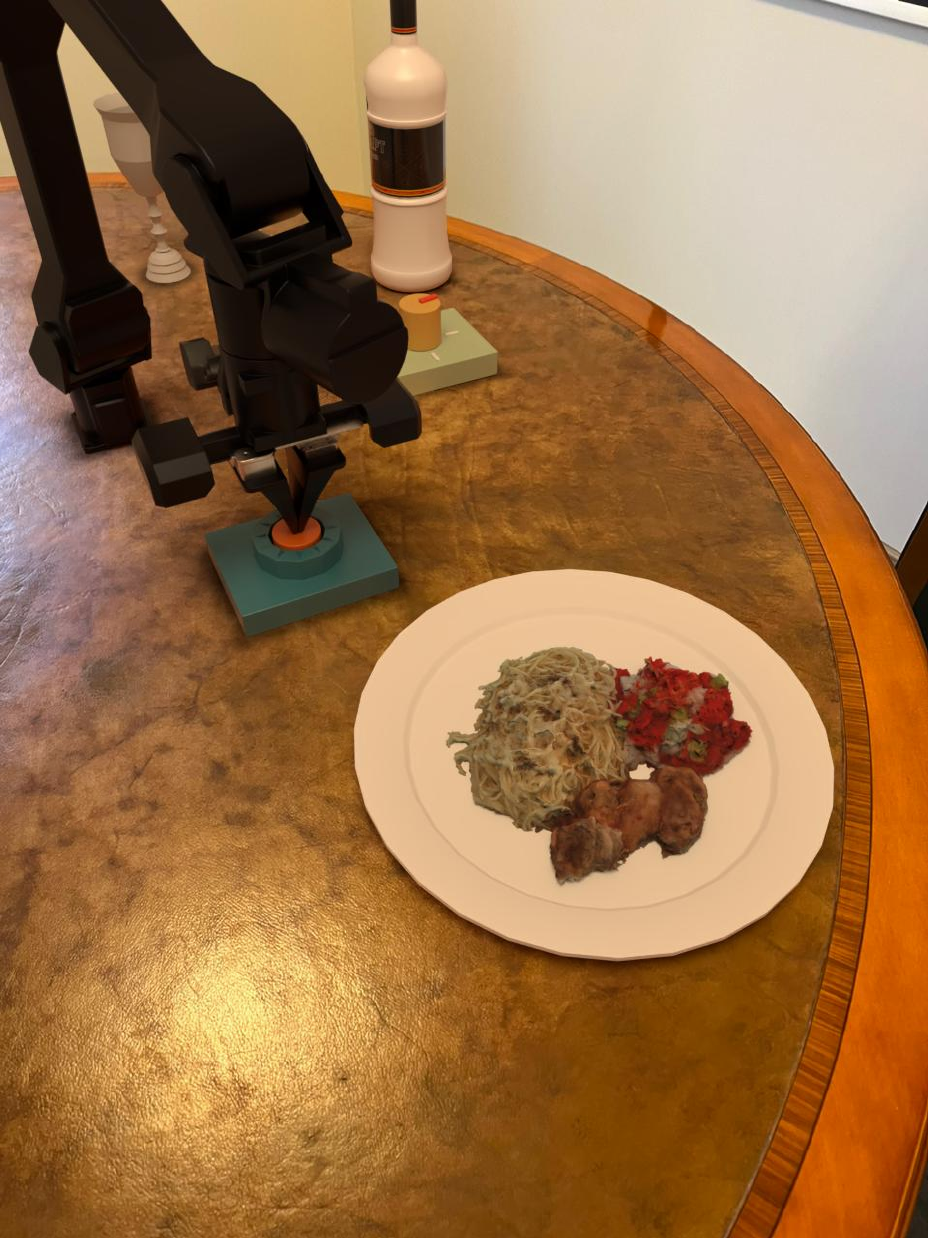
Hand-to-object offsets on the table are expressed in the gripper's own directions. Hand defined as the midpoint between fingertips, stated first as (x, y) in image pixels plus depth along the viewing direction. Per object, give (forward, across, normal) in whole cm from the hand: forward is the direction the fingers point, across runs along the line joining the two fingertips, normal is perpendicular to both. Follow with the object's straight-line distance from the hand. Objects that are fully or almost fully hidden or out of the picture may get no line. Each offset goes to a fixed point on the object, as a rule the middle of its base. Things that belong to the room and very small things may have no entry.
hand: (296, 529), depth 69 cm
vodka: (+4, -28, -42) cm, 51 cm away
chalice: (+4, -3, -55) cm, 55 cm away
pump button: (+2, 0, 0) cm, 2 cm away
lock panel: (+4, -21, -24) cm, 32 cm away
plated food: (+4, -11, +24) cm, 27 cm away
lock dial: (+2, -21, -24) cm, 32 cm away
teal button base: (+4, 0, 0) cm, 4 cm away
